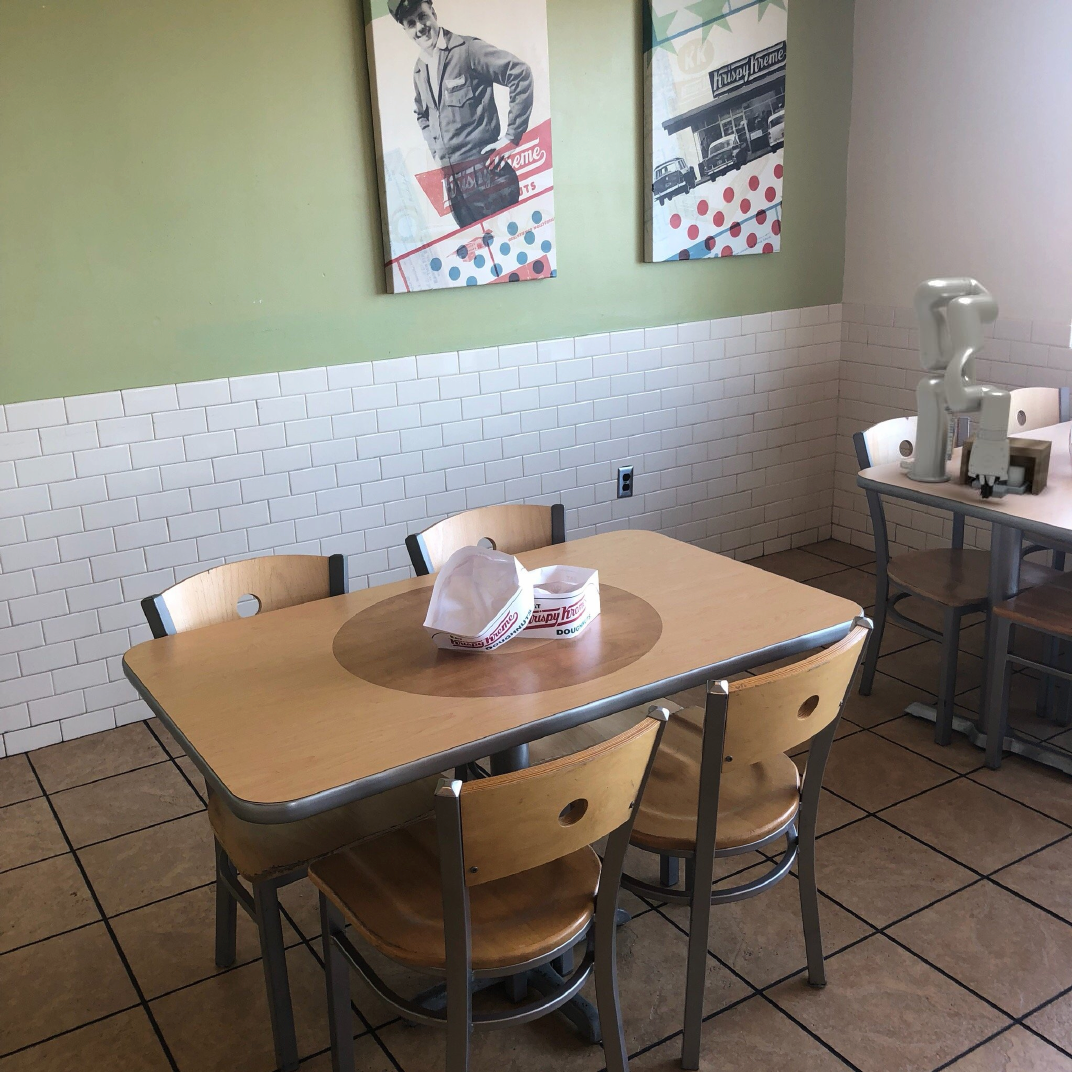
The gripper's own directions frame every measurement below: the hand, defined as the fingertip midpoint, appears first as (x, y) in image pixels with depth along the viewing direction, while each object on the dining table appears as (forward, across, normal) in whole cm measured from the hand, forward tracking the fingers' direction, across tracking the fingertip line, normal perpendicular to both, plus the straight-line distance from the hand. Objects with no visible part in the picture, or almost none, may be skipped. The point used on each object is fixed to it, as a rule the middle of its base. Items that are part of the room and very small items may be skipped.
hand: (986, 497), depth 300 cm
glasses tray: (+1, 0, +14) cm, 14 cm away
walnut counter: (+1, 0, +20) cm, 20 cm away
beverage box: (+1, -25, +48) cm, 55 cm away
